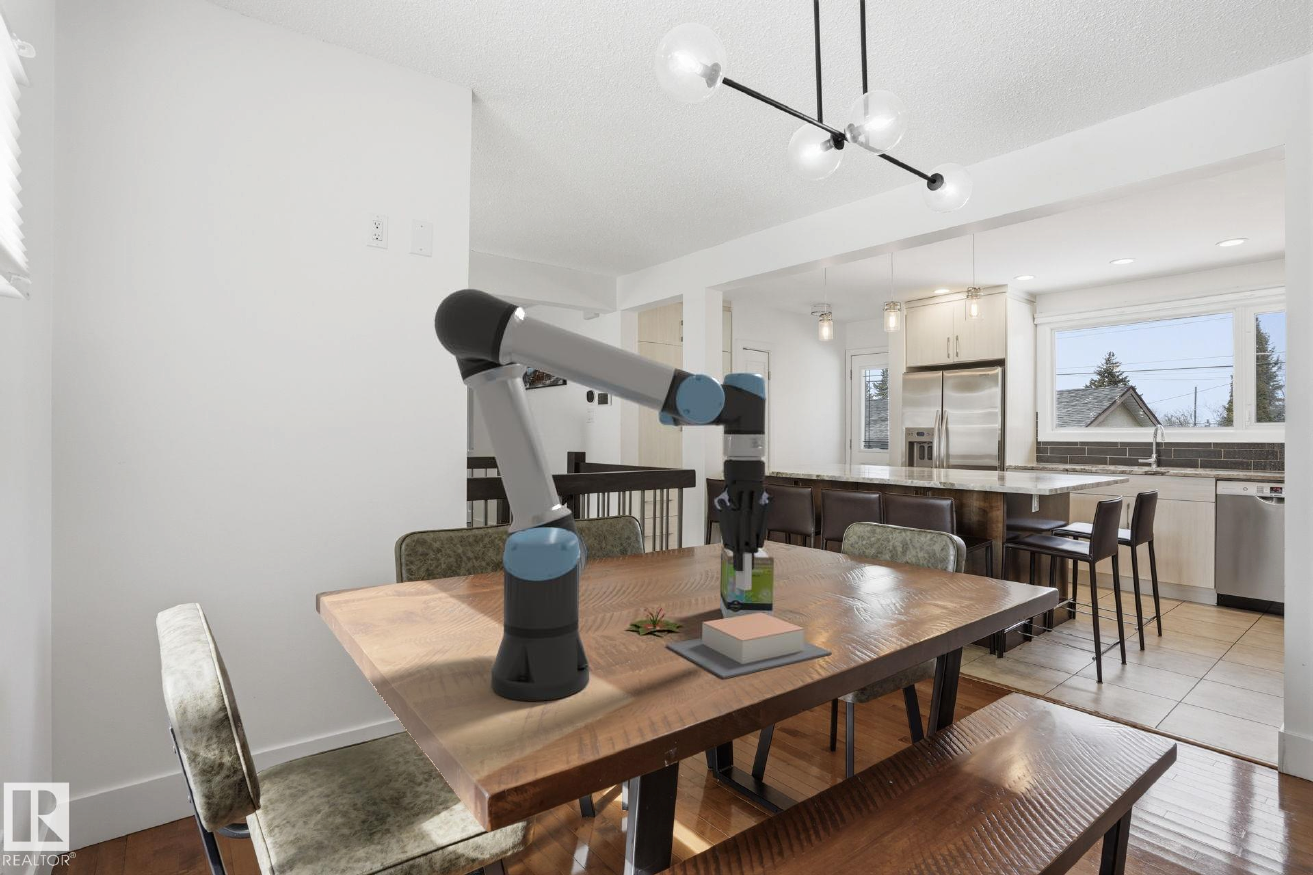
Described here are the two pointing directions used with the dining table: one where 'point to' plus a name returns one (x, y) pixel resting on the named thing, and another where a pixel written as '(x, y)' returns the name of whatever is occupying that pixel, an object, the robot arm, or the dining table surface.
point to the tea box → (747, 600)
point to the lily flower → (654, 624)
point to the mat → (732, 668)
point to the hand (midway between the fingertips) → (743, 588)
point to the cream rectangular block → (752, 637)
